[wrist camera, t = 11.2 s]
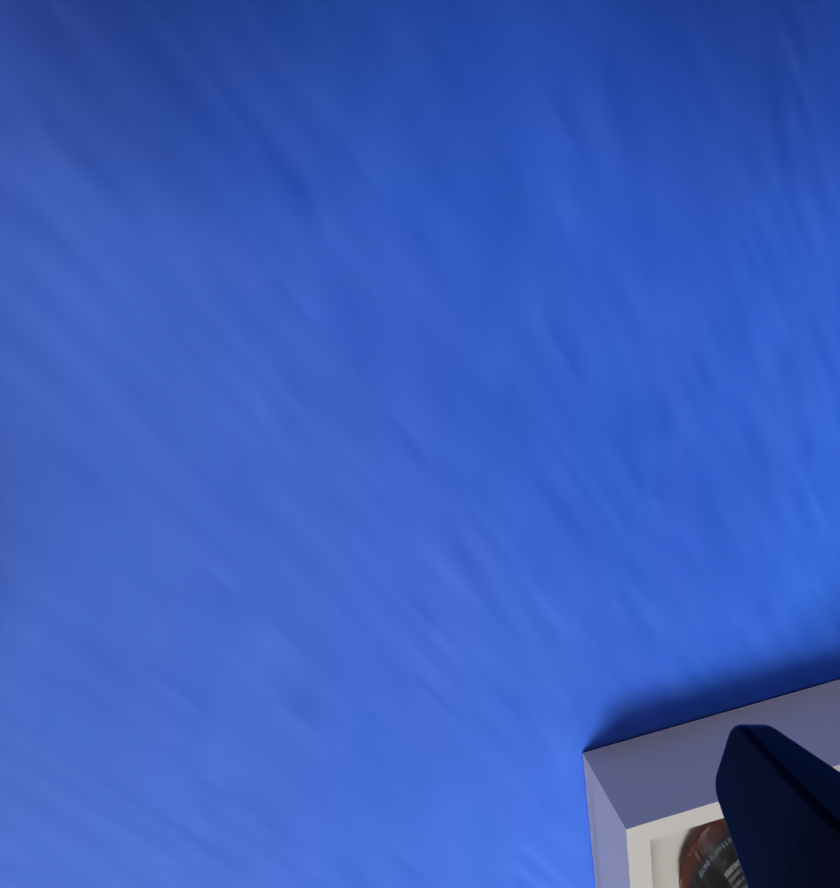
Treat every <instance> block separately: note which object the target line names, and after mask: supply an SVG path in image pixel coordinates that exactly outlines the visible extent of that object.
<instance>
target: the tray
mask: <svg viewBox="0 0 840 888" xmlns="http://www.w3.org/2000/svg"><path fill="white" fill-rule="evenodd" d="M739 724H764V725H769V726H772V727H773V728H775V729H776V730H778V731H779V732H781V733H782V734H784V735H785V736H787V737H788V738H790V739H791V740H793V741H794V742H796V743H797V744H799V745H800V746H802V747H803V748H805V749H806V750H808V751H809V752H811V753H812V754H814V755H815V756H817V757H818V758H820V759H821V760H823V761H824V762H826V763H827V764H829V765H830V766H832V767H833V768H835V769H836V770H838V771H839V772H840V679H839V680H835V681H832V682H828V683H825V684H821V685H818V686H814V687H811V688H807V689H804V690H800V691H797V692H793V693H790V694H786V695H783V696H779V697H776V698H772V699H769V700H765V701H762V702H758V703H755V704H751V705H748V706H744V707H741V708H737V709H734V710H730V711H727V712H723V713H720V714H716V715H713V716H709V717H706V718H703V719H699V720H696V721H692V722H689V723H685V724H682V725H678V726H675V727H671V728H668V729H664V730H661V731H657V732H654V733H650V734H647V735H643V736H640V737H636V738H633V739H629V740H626V741H622V742H619V743H615V744H612V745H608V746H605V747H601V748H598V749H594V750H591V751H587V752H584V753H583V763H584V773H585V783H586V793H587V804H588V814H589V824H590V834H591V845H592V855H593V865H594V875H595V886H596V888H680V887H679V872H680V865H681V861H682V857H683V855H684V852H685V850H686V848H687V846H688V845H689V841H690V840H692V838H693V837H694V835H695V834H696V833H697V831H698V829H699V828H700V827H701V826H702V824H705V823H709V822H712V821H715V820H718V819H722V818H724V816H723V813H722V810H721V808H720V805H719V802H718V798H717V794H716V787H715V781H716V774H717V771H718V768H719V765H720V761H721V758H722V755H723V752H724V749H725V745H726V742H727V739H728V736H729V733H730V731H731V730H732V729H733V727H735V726H736V725H739Z"/></svg>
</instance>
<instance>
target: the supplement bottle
mask: <svg viewBox="0 0 840 888" xmlns="http://www.w3.org/2000/svg"><path fill="white" fill-rule="evenodd" d="M679 887H680V888H748V886H747V883H746V880H745V877H744V874H743V871H742V869H741V866H740V863H739V860H738V857H737V854H736V851H735V848H734V845H733V842H732V840H731V837H730V834H729V831H728V828H727V825H726V822H725V819H724V818H722V819H718V820H715V821H712V822H709V823H705V824H702V826H701V827H700V828H699V829H698V831H697V833H696V834H695V835H694V837H693V838H692V840H690V841H689V845H688V846H687V848H686V850H685V852H684V855H683V857H682V861H681V865H680V872H679Z"/></svg>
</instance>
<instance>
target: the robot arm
mask: <svg viewBox="0 0 840 888" xmlns="http://www.w3.org/2000/svg"><path fill="white" fill-rule="evenodd" d="M715 787H716V794H717V798H718V802H719V805H720V808H721V810H722V813H723V816H724V819H725V822H726V825H727V828H728V831H729V834H730V837H731V840H732V842H733V845H734V848H735V851H736V854H737V857H738V860H739V863H740V866H741V869H742V871H743V874H744V877H745V880H746V883H747V886H748V888H840V772H839V771H838V770H836V769H835V768H833V767H832V766H830V765H829V764H827V763H826V762H824V761H823V760H821V759H820V758H818V757H817V756H815V755H814V754H812V753H811V752H809V751H808V750H806V749H805V748H803V747H802V746H800V745H799V744H797V743H796V742H794V741H793V740H791V739H790V738H788V737H787V736H785V735H784V734H782V733H781V732H779V731H778V730H776V729H775V728H773V727H772V726H769V725H764V724H739V725H736V726H735V727H733V729H732V730H731V731H730V733H729V736H728V739H727V742H726V745H725V749H724V752H723V755H722V758H721V761H720V765H719V768H718V771H717V774H716V781H715Z"/></svg>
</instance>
